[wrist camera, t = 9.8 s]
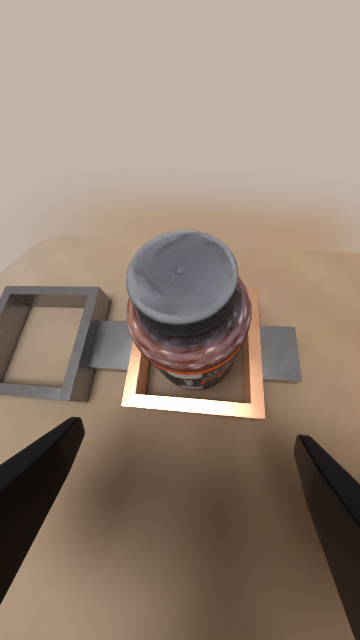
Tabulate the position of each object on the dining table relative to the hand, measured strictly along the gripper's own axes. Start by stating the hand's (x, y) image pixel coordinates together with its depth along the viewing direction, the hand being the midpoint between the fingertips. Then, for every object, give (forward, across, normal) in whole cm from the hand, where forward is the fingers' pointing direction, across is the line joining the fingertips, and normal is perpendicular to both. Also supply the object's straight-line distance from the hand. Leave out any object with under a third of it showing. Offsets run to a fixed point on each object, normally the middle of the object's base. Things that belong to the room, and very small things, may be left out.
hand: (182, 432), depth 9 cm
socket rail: (+9, +6, +1) cm, 11 cm away
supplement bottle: (+9, 0, +2) cm, 9 cm away
